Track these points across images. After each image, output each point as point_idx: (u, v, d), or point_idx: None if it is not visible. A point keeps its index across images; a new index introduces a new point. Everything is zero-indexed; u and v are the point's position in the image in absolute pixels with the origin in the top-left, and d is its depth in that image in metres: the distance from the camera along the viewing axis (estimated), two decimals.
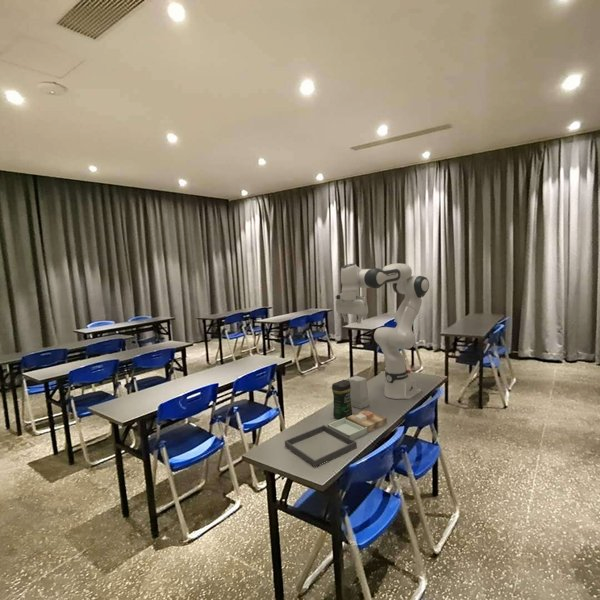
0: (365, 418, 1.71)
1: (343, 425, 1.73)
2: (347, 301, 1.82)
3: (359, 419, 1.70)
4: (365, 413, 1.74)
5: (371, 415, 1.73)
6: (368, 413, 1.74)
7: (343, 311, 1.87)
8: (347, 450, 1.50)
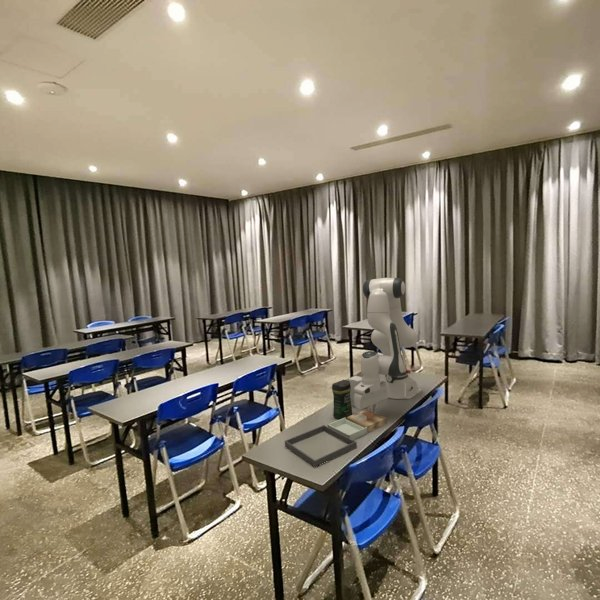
0: (365, 418, 1.71)
1: (343, 425, 1.73)
2: (376, 391, 1.73)
3: (359, 419, 1.70)
4: (365, 413, 1.74)
5: (371, 415, 1.73)
6: (368, 413, 1.74)
7: (368, 404, 1.72)
8: (347, 450, 1.50)
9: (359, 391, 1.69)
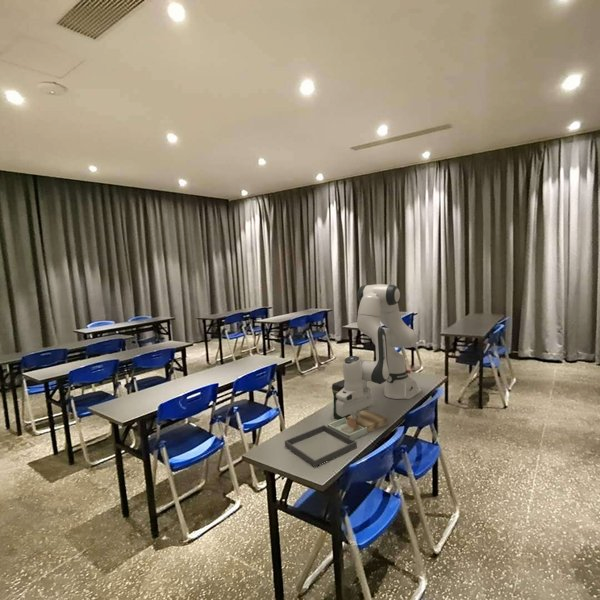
0: (348, 431, 1.65)
1: (343, 425, 1.73)
2: (359, 397, 1.67)
3: None
4: None
5: (354, 425, 1.67)
6: (351, 426, 1.68)
7: (350, 411, 1.66)
8: (347, 450, 1.50)
9: (341, 398, 1.63)
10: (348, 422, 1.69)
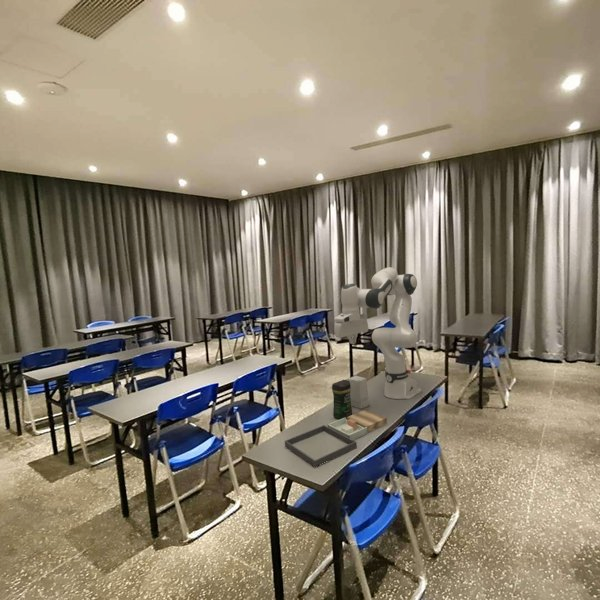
0: (348, 431, 1.65)
1: (343, 425, 1.73)
2: (356, 321, 1.80)
3: None
4: None
5: (354, 424, 1.67)
6: (351, 426, 1.68)
7: (348, 333, 1.79)
8: (347, 450, 1.50)
9: (339, 320, 1.77)
10: (348, 422, 1.69)
